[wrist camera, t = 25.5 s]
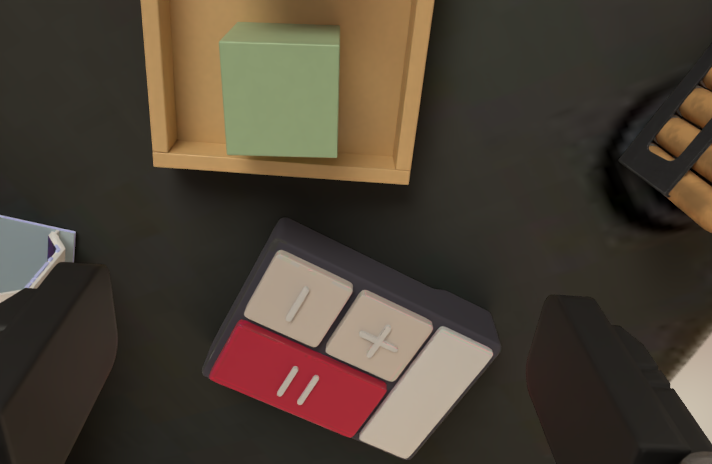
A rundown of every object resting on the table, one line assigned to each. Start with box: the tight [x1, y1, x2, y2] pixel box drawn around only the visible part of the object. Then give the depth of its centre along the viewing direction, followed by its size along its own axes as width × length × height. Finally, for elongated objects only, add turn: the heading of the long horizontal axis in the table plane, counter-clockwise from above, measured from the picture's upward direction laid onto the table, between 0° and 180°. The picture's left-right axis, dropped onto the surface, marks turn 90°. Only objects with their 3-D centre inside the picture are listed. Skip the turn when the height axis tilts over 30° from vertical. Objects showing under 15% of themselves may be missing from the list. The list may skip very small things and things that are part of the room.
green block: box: [219, 22, 340, 158], centre depth 28 cm, size 5×5×5 cm
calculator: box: [202, 217, 502, 460], centre depth 37 cm, size 11×4×15 cm
